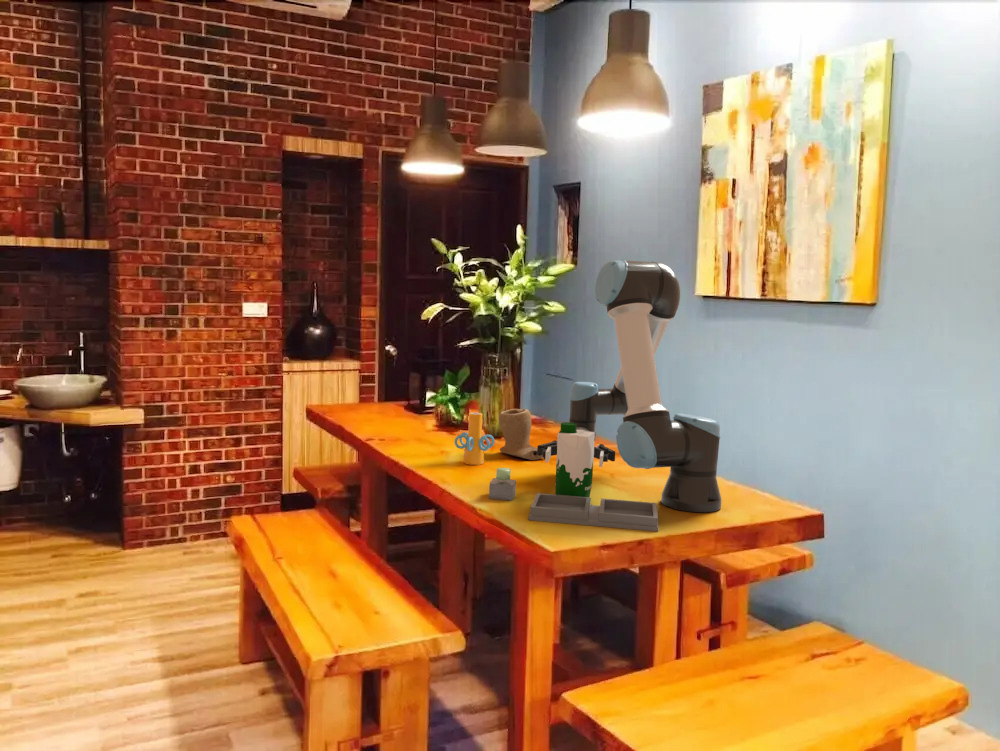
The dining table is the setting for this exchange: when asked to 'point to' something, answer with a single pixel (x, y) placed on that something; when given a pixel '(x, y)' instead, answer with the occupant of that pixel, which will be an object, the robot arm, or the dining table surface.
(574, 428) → the soya milk
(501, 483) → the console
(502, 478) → the button
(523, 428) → the brown boot
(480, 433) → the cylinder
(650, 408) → the robot arm
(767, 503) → the dining table surface
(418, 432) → the dining table surface
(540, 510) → the pocket tray
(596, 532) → the dining table surface
